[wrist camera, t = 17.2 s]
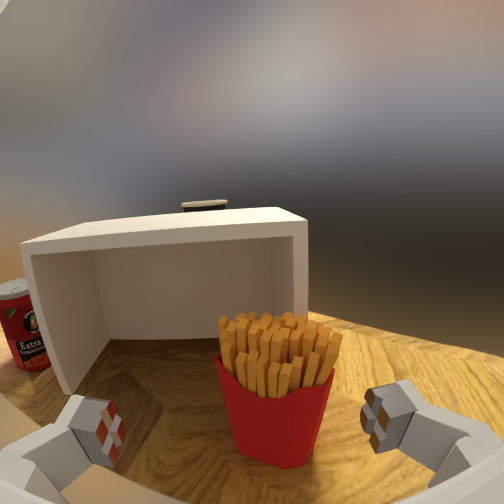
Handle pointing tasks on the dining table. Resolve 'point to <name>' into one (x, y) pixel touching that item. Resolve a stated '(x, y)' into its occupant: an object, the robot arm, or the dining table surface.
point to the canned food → (22, 326)
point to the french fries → (276, 383)
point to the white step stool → (161, 279)
